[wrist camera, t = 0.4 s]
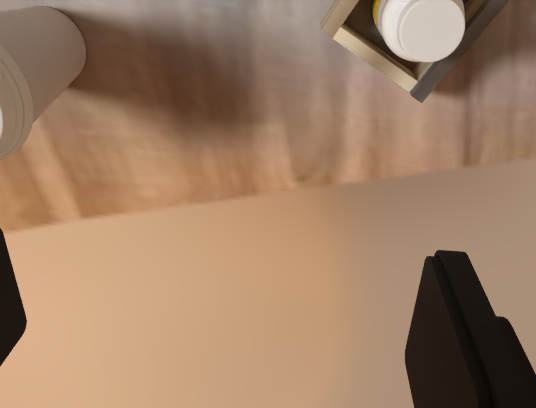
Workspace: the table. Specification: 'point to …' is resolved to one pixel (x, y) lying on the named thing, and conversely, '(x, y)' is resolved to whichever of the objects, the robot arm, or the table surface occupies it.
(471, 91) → the table surface
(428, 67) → the can holder
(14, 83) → the coffee cup
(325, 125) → the table surface
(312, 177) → the table surface
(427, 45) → the supplement bottle
